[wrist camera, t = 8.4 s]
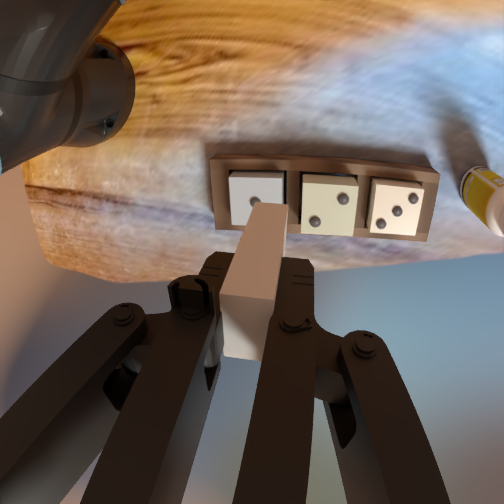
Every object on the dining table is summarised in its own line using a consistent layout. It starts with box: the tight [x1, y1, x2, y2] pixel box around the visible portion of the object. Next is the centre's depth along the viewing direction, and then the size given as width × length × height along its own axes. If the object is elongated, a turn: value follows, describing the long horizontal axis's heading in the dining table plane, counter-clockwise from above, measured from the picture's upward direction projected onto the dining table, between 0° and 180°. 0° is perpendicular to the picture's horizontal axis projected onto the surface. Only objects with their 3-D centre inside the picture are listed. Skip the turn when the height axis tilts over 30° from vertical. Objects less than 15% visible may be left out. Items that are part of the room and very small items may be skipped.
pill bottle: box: [460, 166, 504, 236], centre depth 26 cm, size 6×6×11 cm
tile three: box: [365, 176, 424, 236], centre depth 32 cm, size 6×6×3 cm
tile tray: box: [209, 154, 440, 242], centre depth 35 cm, size 27×9×2 cm, turn 92°
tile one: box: [229, 169, 284, 225], centre depth 35 cm, size 6×6×3 cm
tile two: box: [301, 174, 359, 236], centre depth 32 cm, size 6×6×3 cm
